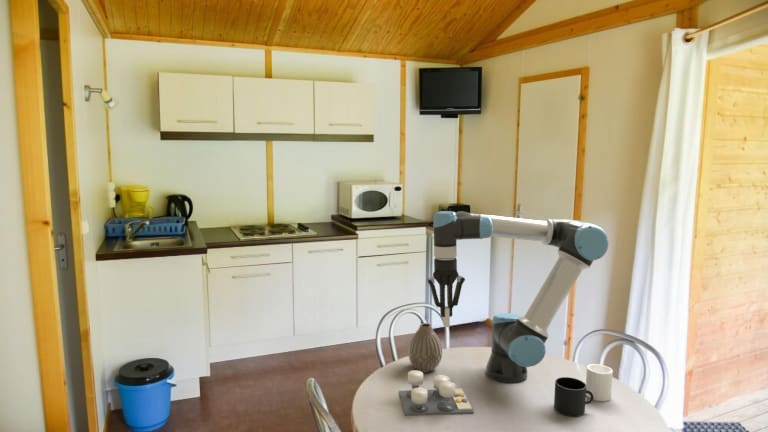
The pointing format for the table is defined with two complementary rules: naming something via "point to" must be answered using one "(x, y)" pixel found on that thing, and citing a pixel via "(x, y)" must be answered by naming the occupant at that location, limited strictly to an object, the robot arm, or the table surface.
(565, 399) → the mug
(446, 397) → the button
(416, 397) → the button
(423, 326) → the vase
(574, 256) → the robot arm
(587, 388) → the mug
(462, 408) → the board
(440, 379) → the button
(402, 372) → the table surface
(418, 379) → the button
